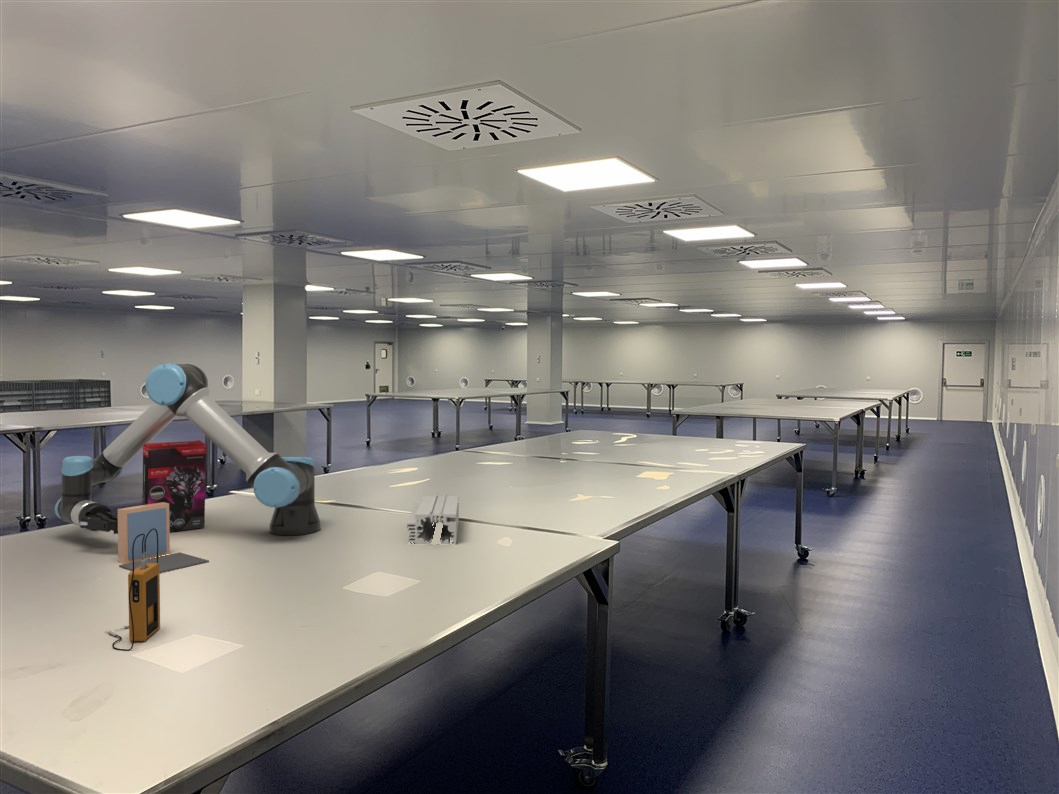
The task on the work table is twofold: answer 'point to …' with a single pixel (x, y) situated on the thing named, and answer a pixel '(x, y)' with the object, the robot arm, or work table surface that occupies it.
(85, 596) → the work table surface
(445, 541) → the aluminum extrusion profile
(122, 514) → the tile
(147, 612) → the multimeter
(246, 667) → the work table surface
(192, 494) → the graphics card box
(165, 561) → the mat
